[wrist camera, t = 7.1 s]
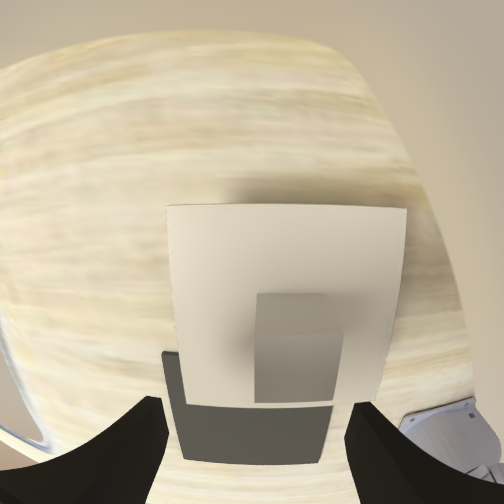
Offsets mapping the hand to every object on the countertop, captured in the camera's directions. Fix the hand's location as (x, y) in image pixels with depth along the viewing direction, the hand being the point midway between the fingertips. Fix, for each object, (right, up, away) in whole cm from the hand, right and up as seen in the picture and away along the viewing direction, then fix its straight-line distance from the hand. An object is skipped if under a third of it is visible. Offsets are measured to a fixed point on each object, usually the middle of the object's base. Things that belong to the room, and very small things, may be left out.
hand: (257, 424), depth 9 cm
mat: (0, -7, +12) cm, 14 cm away
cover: (+2, +3, +5) cm, 6 cm away
